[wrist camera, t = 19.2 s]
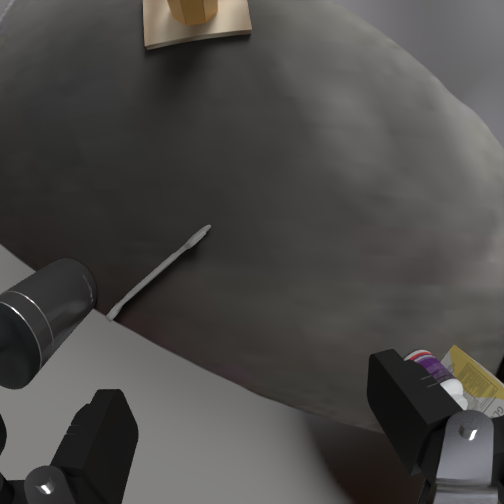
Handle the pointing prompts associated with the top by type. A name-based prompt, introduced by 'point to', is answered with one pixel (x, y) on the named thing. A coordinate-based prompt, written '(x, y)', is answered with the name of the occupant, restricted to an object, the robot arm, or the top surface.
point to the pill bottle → (440, 375)
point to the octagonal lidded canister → (193, 10)
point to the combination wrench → (157, 271)
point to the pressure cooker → (502, 374)
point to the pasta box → (476, 383)
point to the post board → (174, 32)
